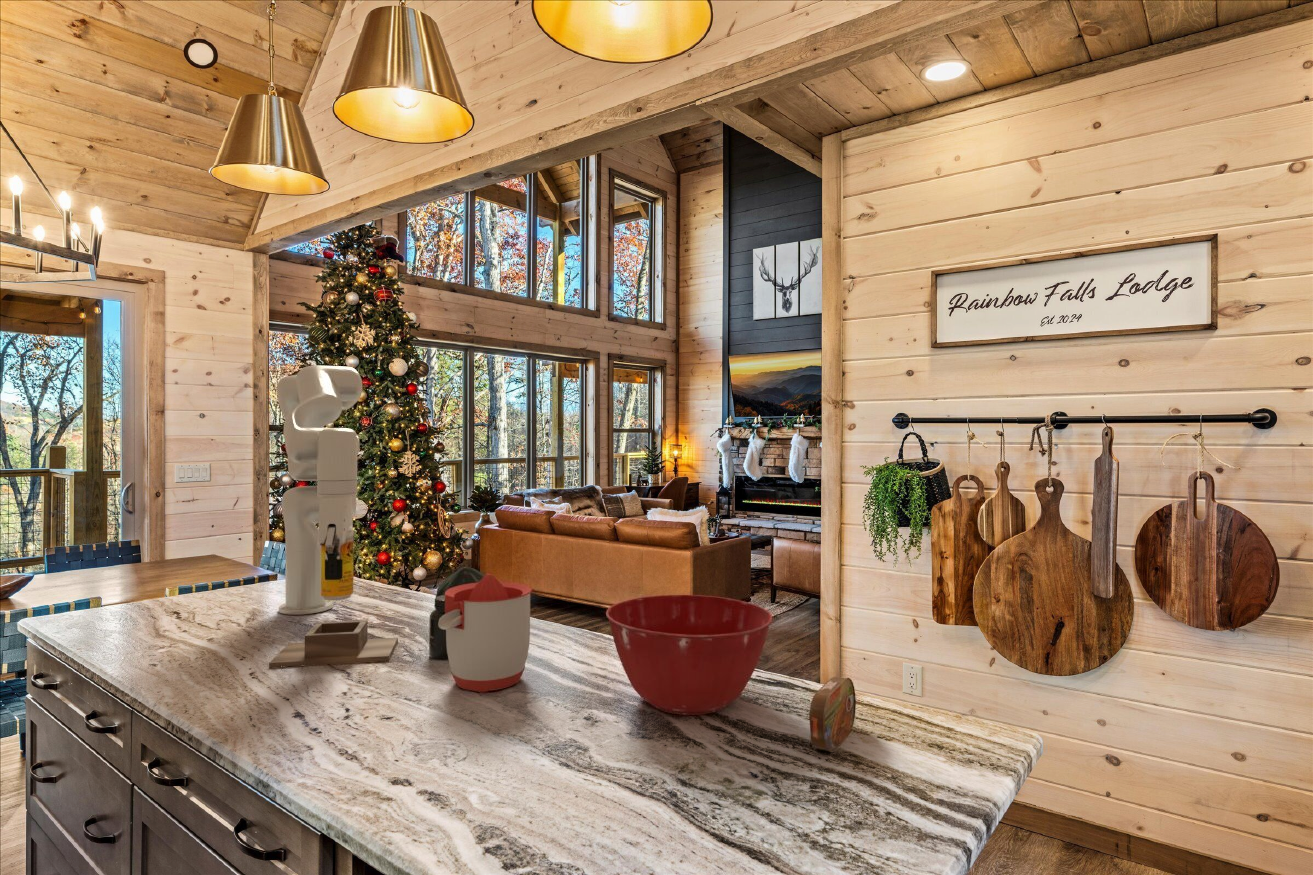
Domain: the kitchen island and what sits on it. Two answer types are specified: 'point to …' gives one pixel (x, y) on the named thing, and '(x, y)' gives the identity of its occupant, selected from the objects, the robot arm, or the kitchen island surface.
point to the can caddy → (336, 646)
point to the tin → (832, 713)
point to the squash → (460, 579)
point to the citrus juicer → (487, 633)
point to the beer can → (345, 585)
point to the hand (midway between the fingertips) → (337, 575)
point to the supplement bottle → (437, 631)
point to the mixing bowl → (688, 649)
